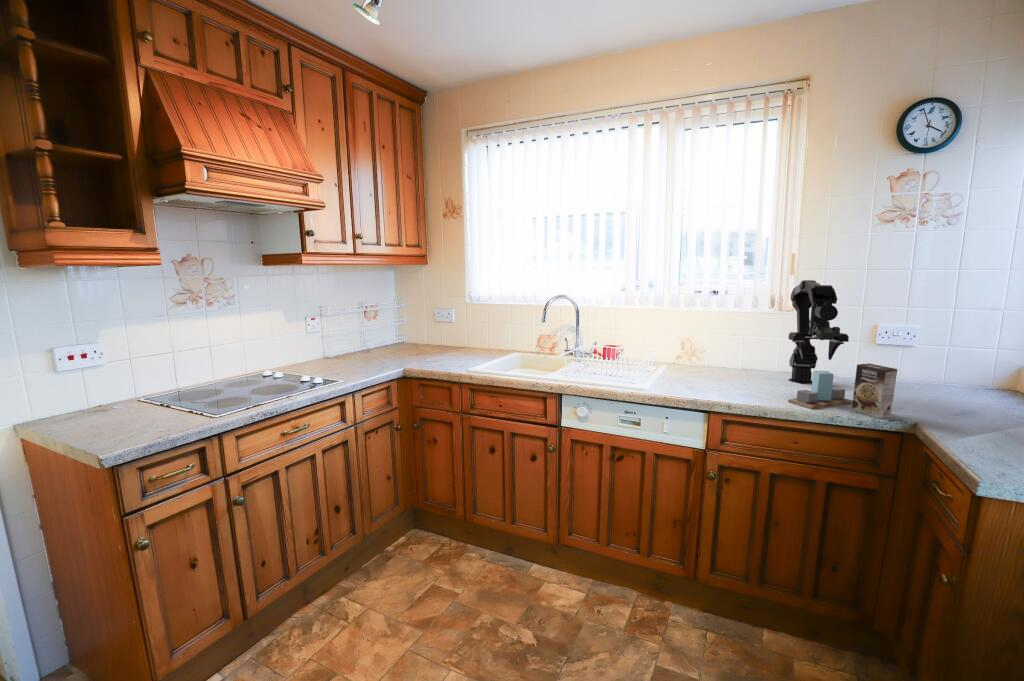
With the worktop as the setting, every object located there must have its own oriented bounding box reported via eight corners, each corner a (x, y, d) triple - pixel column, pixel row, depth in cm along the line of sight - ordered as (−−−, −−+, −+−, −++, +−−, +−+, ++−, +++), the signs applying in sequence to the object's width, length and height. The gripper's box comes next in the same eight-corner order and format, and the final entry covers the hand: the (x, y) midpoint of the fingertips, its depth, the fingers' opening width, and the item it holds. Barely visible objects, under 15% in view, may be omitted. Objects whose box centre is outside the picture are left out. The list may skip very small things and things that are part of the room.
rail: (806, 403, 167) (806, 402, 167) (797, 401, 171) (797, 399, 171) (843, 398, 173) (843, 397, 173) (834, 396, 177) (834, 394, 176)
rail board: (810, 409, 165) (811, 406, 165) (788, 402, 173) (788, 399, 173) (852, 403, 171) (853, 400, 171) (828, 396, 180) (829, 393, 179)
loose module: (816, 399, 170) (819, 373, 168) (810, 396, 175) (813, 370, 173) (830, 400, 169) (833, 374, 168) (824, 396, 174) (827, 370, 172)
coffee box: (850, 410, 163) (855, 364, 160) (863, 408, 165) (868, 362, 162) (879, 419, 154) (884, 370, 151) (892, 416, 156) (898, 368, 154)
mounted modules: (808, 402, 167) (808, 394, 167) (796, 399, 171) (797, 390, 171) (844, 397, 173) (845, 389, 172) (832, 394, 177) (833, 386, 176)
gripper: (800, 320, 175) (797, 362, 177) (857, 320, 171) (854, 363, 173) (789, 317, 186) (786, 357, 188) (843, 318, 182) (839, 358, 184)
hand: (816, 359), depth 183 cm, fingers open, 9 cm apart
